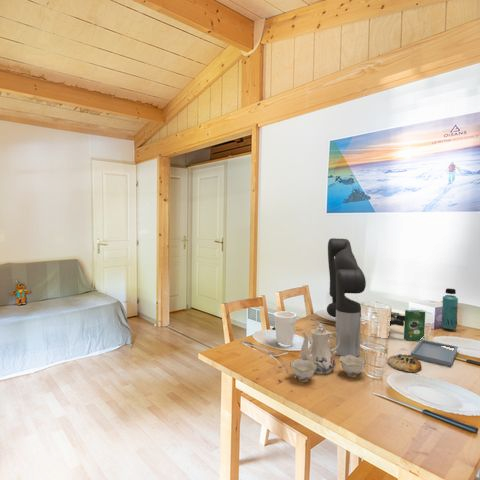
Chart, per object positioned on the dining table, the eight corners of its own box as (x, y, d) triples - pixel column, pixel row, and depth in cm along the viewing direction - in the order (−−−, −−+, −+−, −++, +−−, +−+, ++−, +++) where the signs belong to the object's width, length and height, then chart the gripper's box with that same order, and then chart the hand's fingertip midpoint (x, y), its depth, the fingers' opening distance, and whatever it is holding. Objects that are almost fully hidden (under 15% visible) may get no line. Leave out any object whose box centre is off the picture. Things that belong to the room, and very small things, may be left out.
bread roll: (417, 361, 123) (417, 348, 122) (425, 378, 112) (425, 365, 112) (385, 359, 126) (385, 346, 125) (389, 375, 116) (389, 362, 115)
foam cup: (289, 350, 133) (289, 319, 132) (269, 345, 139) (269, 315, 138) (299, 343, 141) (300, 313, 140) (281, 339, 146) (281, 310, 146)
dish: (450, 367, 117) (450, 362, 117) (410, 358, 126) (410, 353, 126) (457, 351, 132) (457, 346, 132) (421, 343, 140) (421, 339, 140)
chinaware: (296, 394, 103) (299, 344, 100) (276, 366, 119) (278, 322, 116) (372, 382, 111) (377, 335, 108) (343, 357, 126) (347, 316, 124)
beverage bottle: (438, 328, 160) (439, 288, 158) (446, 327, 162) (448, 286, 161) (451, 333, 154) (453, 290, 153) (460, 331, 157) (461, 289, 155)
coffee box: (420, 338, 147) (421, 309, 146) (424, 340, 144) (425, 311, 143) (403, 338, 146) (404, 309, 146) (407, 341, 144) (407, 311, 143)
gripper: (364, 310, 152) (402, 316, 141) (374, 304, 163) (410, 309, 152) (363, 326, 152) (401, 333, 142) (373, 319, 163) (409, 325, 153)
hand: (406, 321), depth 147 cm, fingers open, 8 cm apart
